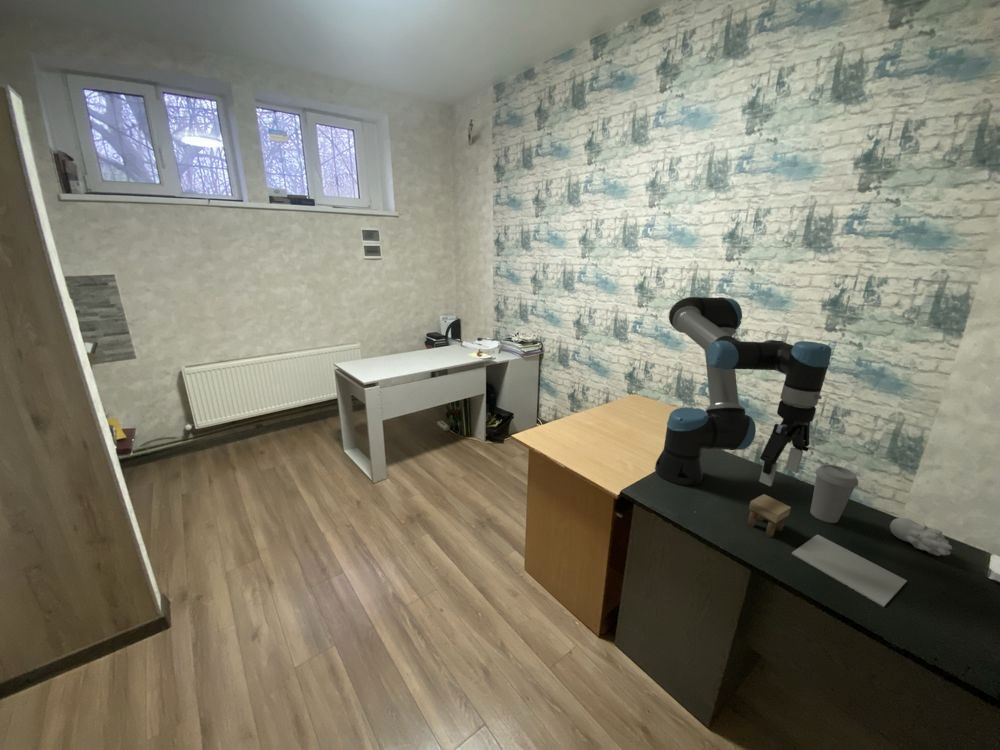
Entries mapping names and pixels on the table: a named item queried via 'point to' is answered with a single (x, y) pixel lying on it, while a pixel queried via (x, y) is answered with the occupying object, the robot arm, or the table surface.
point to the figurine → (921, 536)
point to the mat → (850, 569)
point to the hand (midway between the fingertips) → (778, 477)
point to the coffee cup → (832, 492)
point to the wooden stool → (768, 513)
